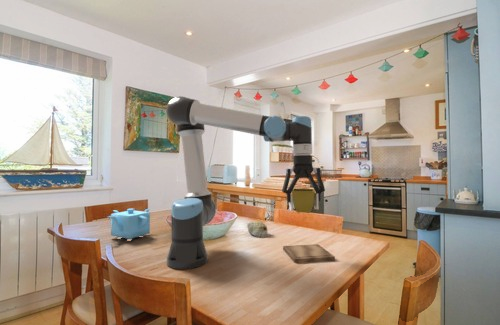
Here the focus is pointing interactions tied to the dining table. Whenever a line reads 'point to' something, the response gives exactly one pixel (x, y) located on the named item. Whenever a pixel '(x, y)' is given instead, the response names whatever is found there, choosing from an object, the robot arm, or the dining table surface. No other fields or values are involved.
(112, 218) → the teakettle
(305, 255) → the plate
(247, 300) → the dining table surface
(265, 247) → the dining table surface
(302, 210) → the flower pot
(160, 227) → the dining table surface
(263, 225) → the grey rounded lump
